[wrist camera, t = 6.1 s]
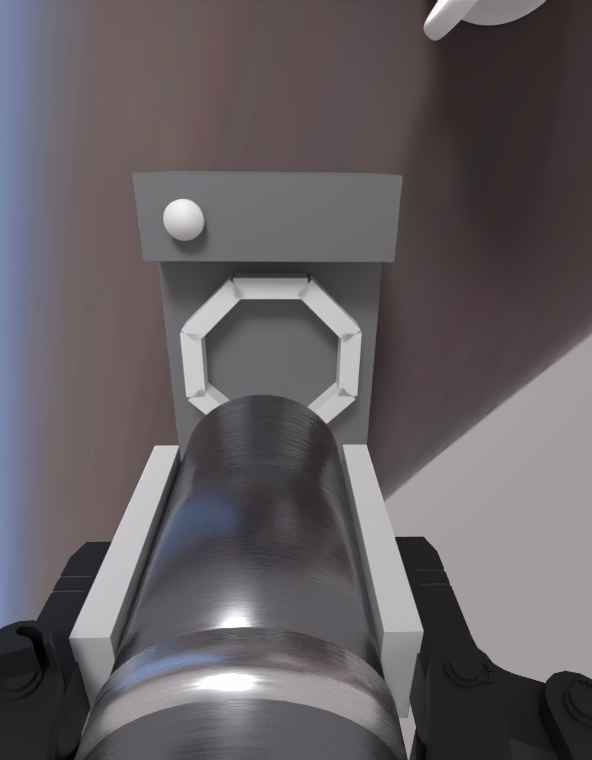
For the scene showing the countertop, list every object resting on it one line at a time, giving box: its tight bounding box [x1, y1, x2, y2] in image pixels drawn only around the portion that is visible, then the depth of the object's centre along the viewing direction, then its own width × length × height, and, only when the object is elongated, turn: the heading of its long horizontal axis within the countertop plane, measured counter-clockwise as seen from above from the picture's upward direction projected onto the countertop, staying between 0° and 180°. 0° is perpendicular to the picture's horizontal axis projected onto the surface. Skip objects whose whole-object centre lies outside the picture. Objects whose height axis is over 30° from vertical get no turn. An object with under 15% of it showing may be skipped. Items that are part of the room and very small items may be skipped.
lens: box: [75, 395, 408, 760], centre depth 11 cm, size 5×5×10 cm
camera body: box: [132, 171, 403, 463], centre depth 26 cm, size 18×11×9 cm, turn 179°
